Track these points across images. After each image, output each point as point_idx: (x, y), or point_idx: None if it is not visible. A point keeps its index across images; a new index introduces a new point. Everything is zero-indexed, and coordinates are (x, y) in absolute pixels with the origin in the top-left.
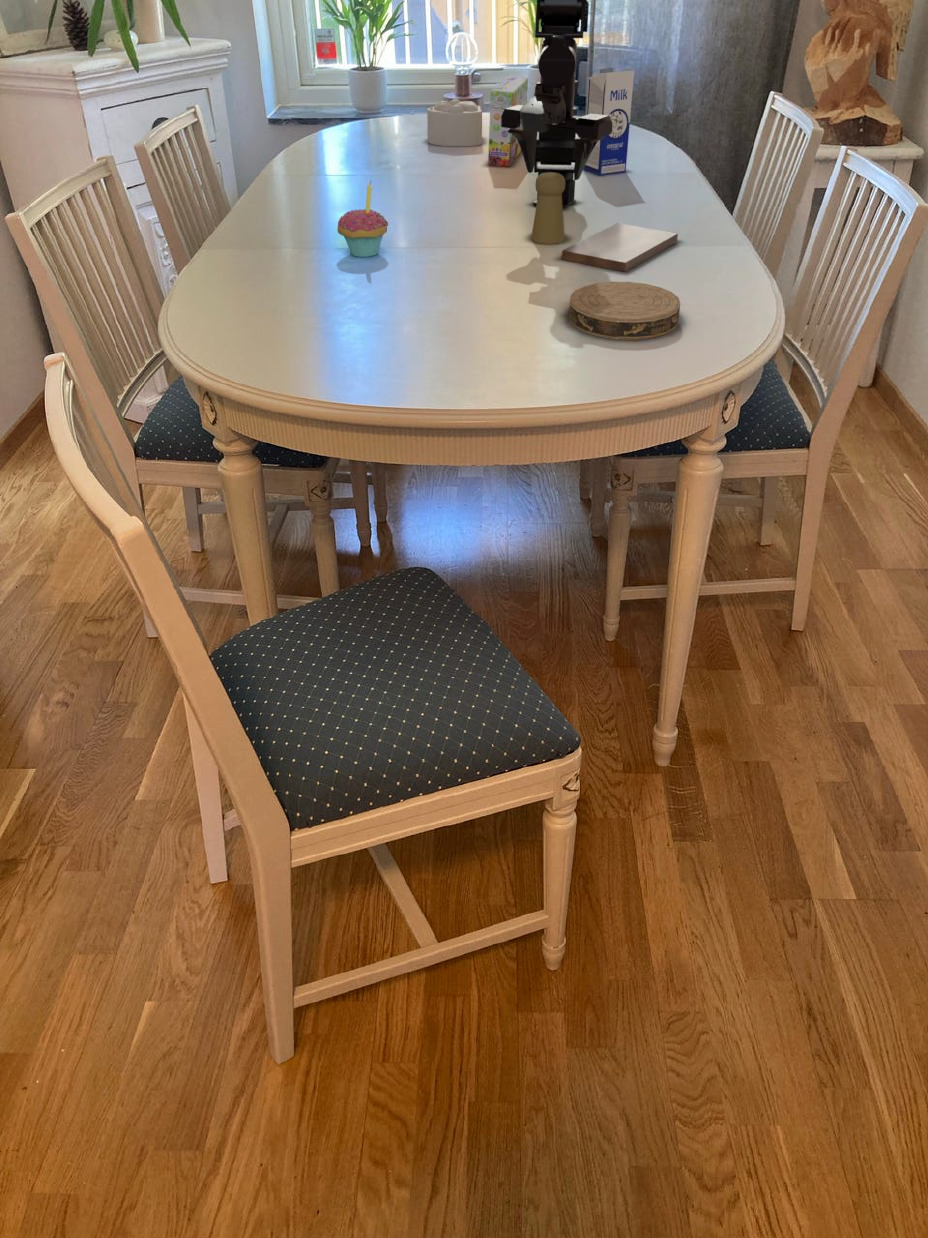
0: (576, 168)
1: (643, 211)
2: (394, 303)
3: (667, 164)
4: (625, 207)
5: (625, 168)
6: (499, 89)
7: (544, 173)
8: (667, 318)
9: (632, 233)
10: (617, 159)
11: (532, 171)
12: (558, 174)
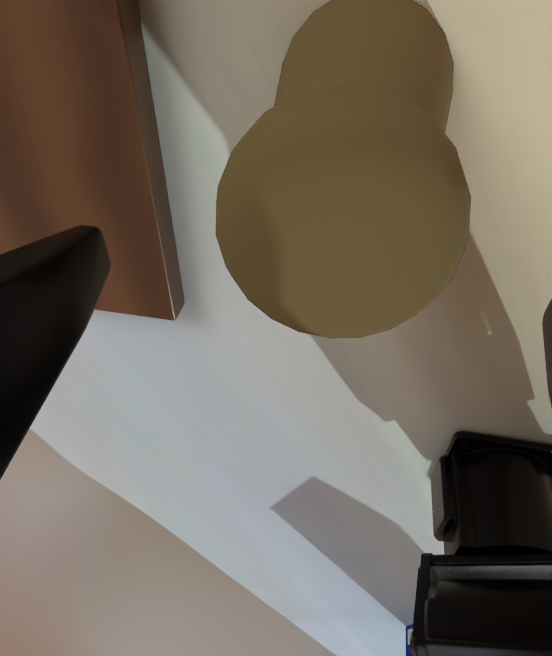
0: (11, 256)
1: (235, 462)
2: None
3: (351, 646)
4: (291, 476)
5: (406, 633)
6: None
7: (390, 257)
8: None
9: (53, 233)
10: None
11: (544, 313)
12: (267, 281)
